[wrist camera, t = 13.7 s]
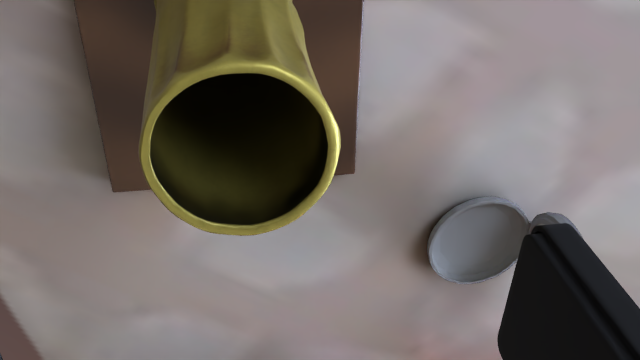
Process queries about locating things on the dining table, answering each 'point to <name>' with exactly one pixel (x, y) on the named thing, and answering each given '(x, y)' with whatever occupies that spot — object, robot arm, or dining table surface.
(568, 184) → the dining table surface
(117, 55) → the serving board
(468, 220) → the pocket watch
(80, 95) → the dining table surface
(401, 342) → the dining table surface
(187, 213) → the vase
